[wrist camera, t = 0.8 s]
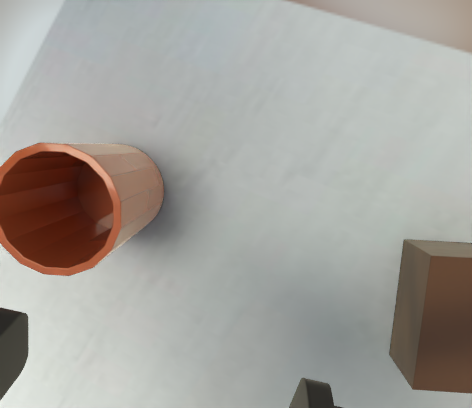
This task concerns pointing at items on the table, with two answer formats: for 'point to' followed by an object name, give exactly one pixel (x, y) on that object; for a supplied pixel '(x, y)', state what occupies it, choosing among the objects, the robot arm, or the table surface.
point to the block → (434, 316)
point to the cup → (75, 203)
